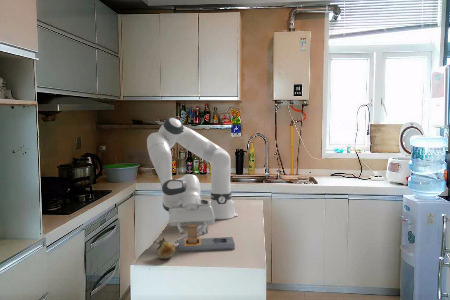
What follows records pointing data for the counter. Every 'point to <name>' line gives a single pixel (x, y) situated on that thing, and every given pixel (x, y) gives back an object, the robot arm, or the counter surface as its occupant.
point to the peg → (192, 233)
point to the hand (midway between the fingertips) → (192, 232)
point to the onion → (165, 249)
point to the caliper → (197, 232)
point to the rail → (207, 244)
